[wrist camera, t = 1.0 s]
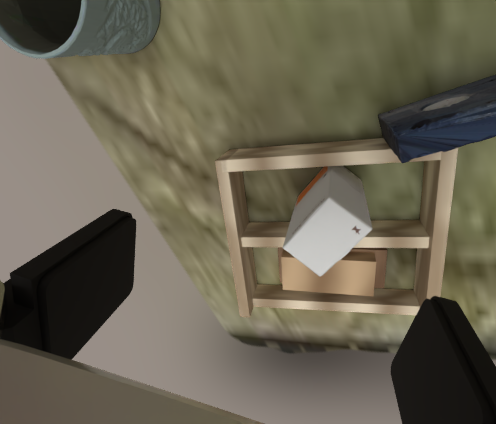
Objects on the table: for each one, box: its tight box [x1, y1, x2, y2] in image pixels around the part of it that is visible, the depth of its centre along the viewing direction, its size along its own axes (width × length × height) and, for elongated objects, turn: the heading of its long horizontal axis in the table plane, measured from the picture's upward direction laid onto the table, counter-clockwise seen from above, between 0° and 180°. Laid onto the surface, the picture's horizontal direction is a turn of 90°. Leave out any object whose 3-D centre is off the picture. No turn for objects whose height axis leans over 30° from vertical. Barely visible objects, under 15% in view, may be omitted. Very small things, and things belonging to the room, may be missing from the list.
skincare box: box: [283, 166, 373, 276], centre depth 31 cm, size 6×4×12 cm
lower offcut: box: [278, 247, 387, 289], centre depth 39 cm, size 12×5×2 cm, turn 95°
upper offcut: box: [281, 249, 376, 296], centre depth 37 cm, size 10×4×2 cm, turn 95°
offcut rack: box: [215, 138, 458, 317], centre depth 35 cm, size 21×19×5 cm
